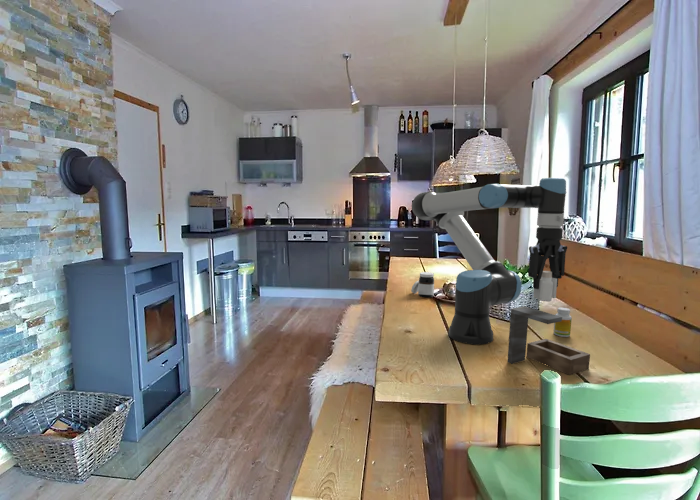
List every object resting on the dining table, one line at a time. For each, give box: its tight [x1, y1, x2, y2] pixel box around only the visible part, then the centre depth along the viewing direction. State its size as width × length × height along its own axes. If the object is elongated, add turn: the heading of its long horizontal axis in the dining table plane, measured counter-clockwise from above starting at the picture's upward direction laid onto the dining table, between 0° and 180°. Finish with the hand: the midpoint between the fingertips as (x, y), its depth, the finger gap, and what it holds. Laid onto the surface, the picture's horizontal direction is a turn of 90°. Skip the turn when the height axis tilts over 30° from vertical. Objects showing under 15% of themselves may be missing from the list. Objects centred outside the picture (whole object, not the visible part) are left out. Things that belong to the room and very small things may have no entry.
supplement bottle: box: [553, 307, 572, 338], centre depth 142 cm, size 5×5×10 cm
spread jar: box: [410, 271, 435, 299], centre depth 198 cm, size 12×11×12 cm
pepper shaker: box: [537, 270, 553, 303], centre depth 127 cm, size 4×4×10 cm
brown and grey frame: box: [506, 306, 591, 376], centre depth 114 cm, size 14×18×17 cm
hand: (544, 297), depth 128 cm, fingers closed on pepper shaker, 5 cm apart
